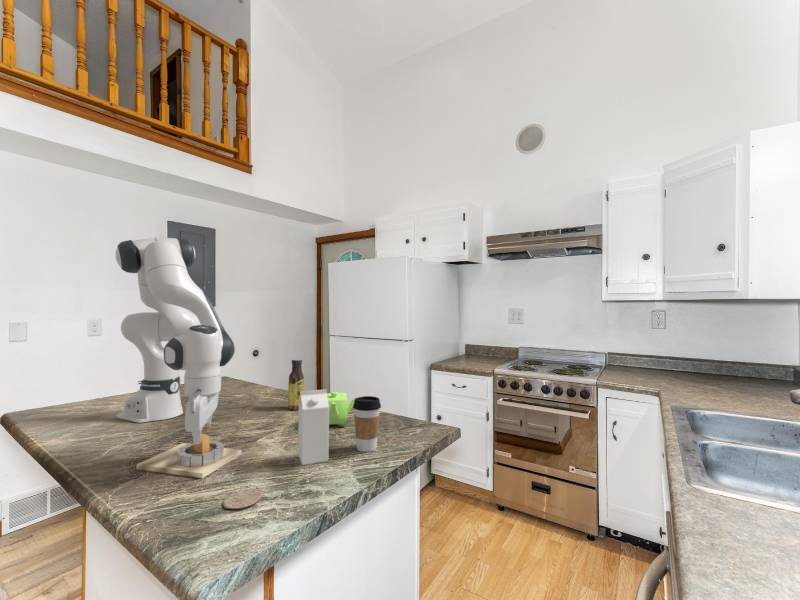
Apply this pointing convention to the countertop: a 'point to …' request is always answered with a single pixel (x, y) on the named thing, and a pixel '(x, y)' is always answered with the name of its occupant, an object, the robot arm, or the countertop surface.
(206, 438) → the orange dark-based block
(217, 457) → the faceted grey ring
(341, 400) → the kettle
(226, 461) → the board
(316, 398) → the milk carton
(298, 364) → the sauce bottle
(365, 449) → the coffee cup
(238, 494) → the flatbread
